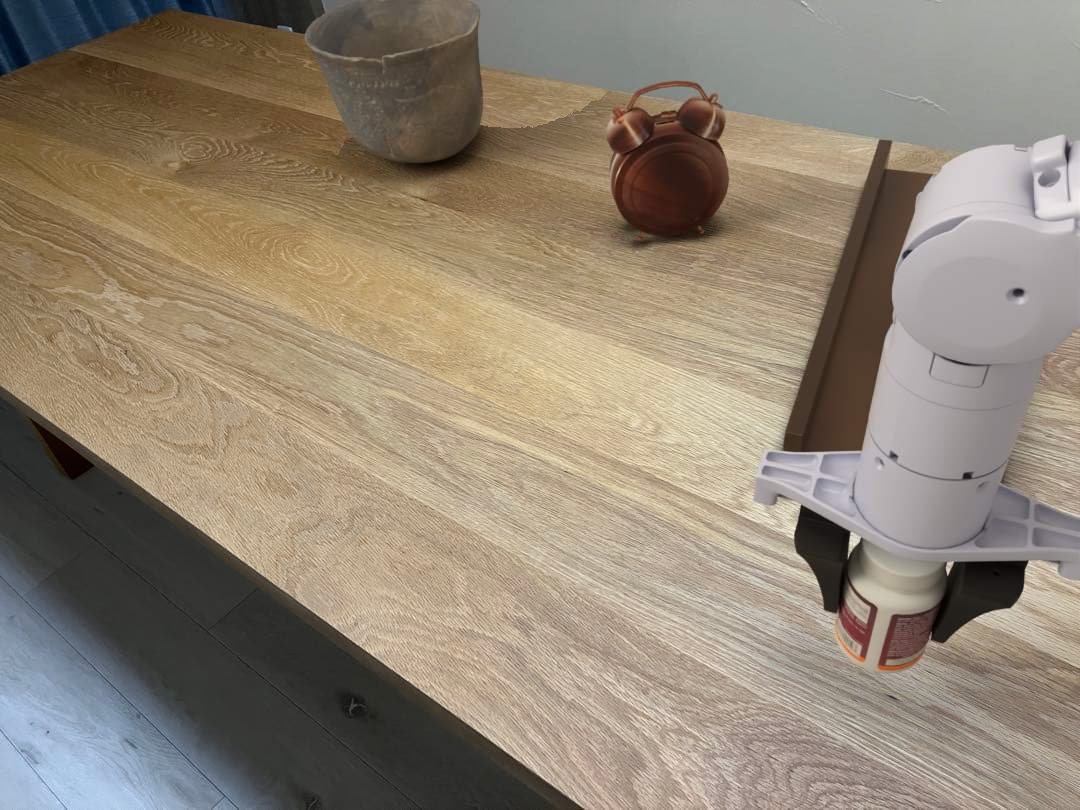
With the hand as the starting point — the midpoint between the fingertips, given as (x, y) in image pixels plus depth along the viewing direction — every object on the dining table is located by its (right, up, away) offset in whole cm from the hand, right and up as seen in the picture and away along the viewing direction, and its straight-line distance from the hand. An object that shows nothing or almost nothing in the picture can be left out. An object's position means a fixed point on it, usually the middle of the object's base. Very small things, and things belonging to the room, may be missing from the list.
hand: (886, 611), depth 48 cm
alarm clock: (-6, +27, +41) cm, 49 cm away
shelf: (+13, +18, +27) cm, 35 cm away
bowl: (-32, +39, +57) cm, 76 cm away
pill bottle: (0, -2, +2) cm, 3 cm away
